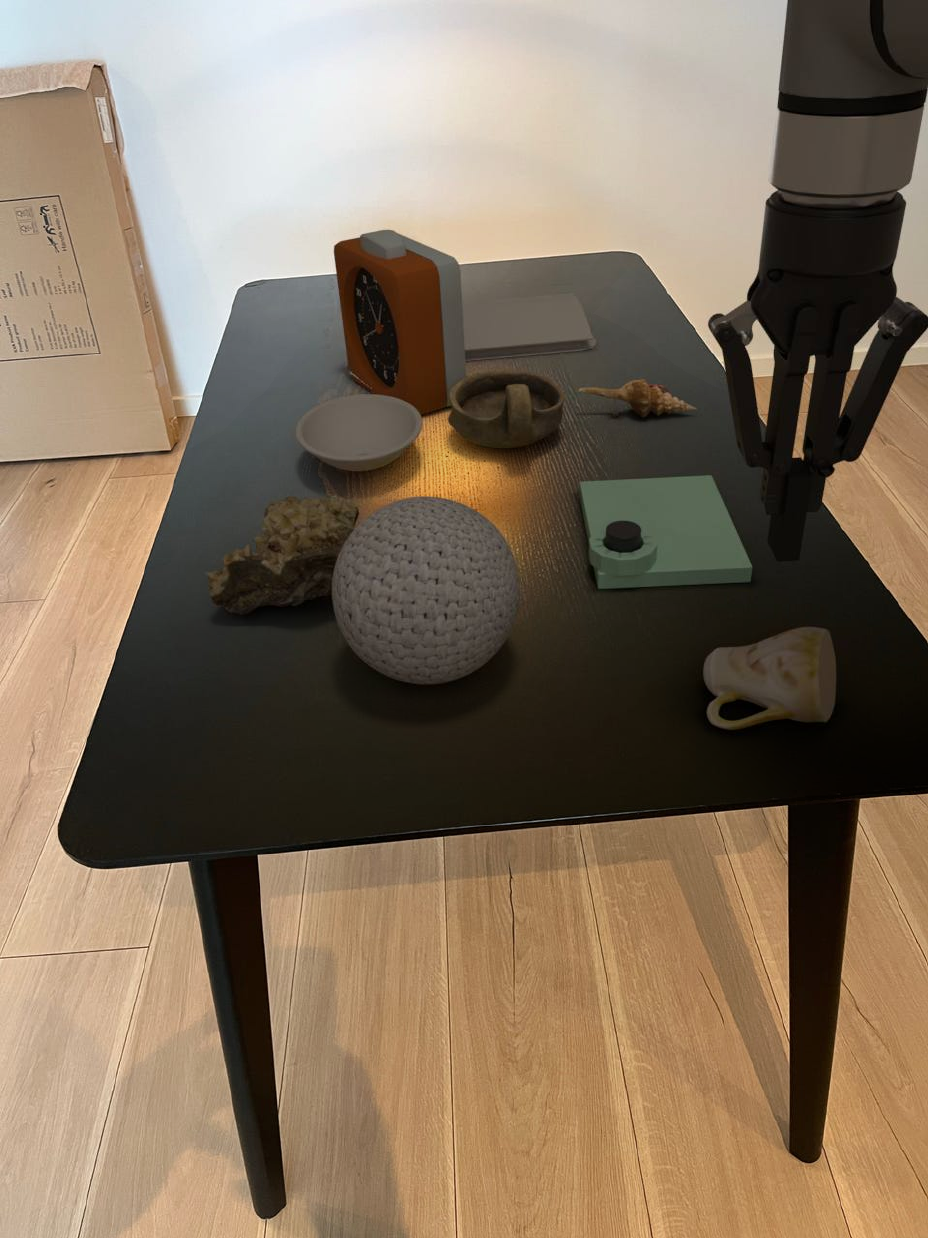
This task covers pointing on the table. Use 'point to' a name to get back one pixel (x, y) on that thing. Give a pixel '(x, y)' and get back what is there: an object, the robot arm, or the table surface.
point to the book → (525, 327)
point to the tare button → (623, 536)
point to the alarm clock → (401, 317)
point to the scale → (663, 533)
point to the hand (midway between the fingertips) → (782, 550)
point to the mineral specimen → (286, 556)
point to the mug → (775, 678)
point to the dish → (359, 430)
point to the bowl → (505, 408)
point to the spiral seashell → (642, 398)
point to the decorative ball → (425, 590)
